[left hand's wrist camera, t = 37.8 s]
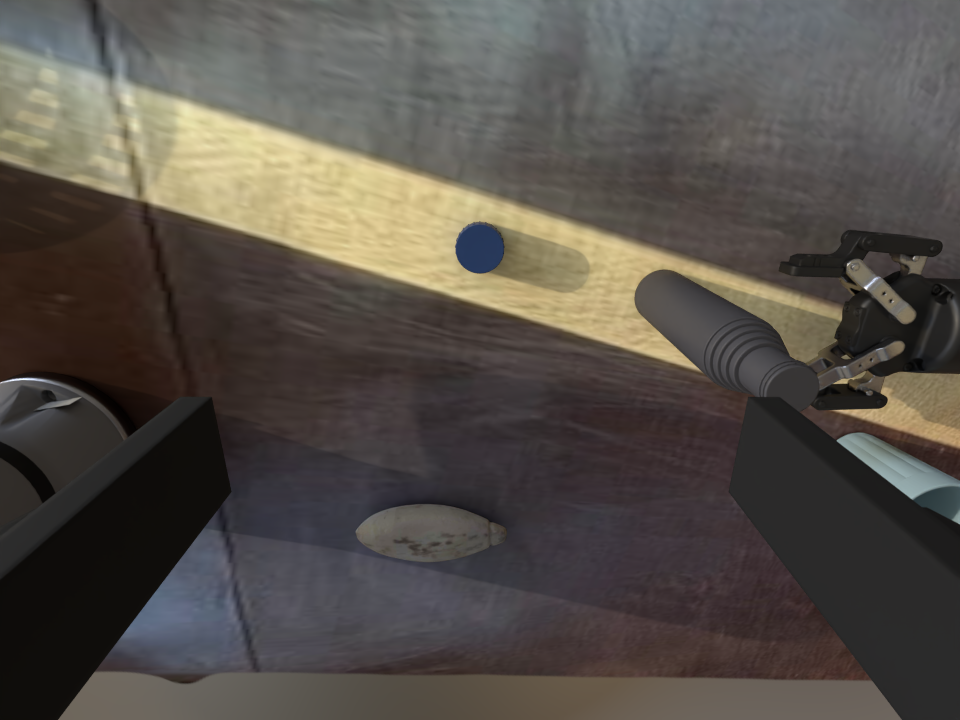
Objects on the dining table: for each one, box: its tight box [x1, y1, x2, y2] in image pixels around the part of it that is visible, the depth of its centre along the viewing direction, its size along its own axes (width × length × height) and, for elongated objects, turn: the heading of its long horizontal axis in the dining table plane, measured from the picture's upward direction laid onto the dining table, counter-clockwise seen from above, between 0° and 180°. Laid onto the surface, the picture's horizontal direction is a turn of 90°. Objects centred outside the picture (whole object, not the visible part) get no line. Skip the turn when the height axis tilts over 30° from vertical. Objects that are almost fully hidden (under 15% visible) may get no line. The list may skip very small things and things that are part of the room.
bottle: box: [635, 270, 819, 412], centre depth 36 cm, size 5×5×20 cm
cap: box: [455, 221, 504, 273], centre depth 43 cm, size 4×4×2 cm
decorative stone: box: [356, 504, 507, 562], centre depth 53 cm, size 6×16×3 cm, turn 90°
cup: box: [837, 433, 960, 524], centre depth 46 cm, size 8×8×10 cm
